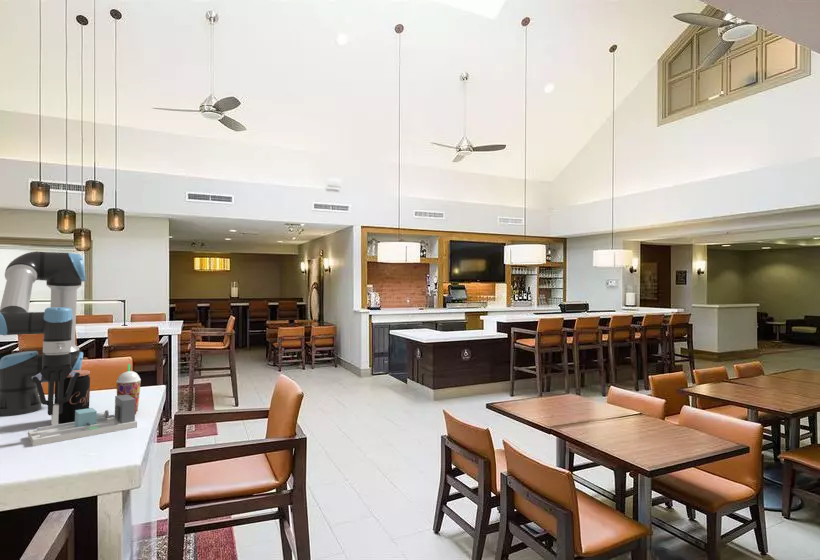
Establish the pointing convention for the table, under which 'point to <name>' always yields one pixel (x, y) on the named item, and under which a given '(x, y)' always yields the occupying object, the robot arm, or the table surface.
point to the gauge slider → (88, 417)
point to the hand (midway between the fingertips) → (54, 424)
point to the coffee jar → (74, 396)
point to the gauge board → (103, 425)
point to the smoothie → (129, 385)
